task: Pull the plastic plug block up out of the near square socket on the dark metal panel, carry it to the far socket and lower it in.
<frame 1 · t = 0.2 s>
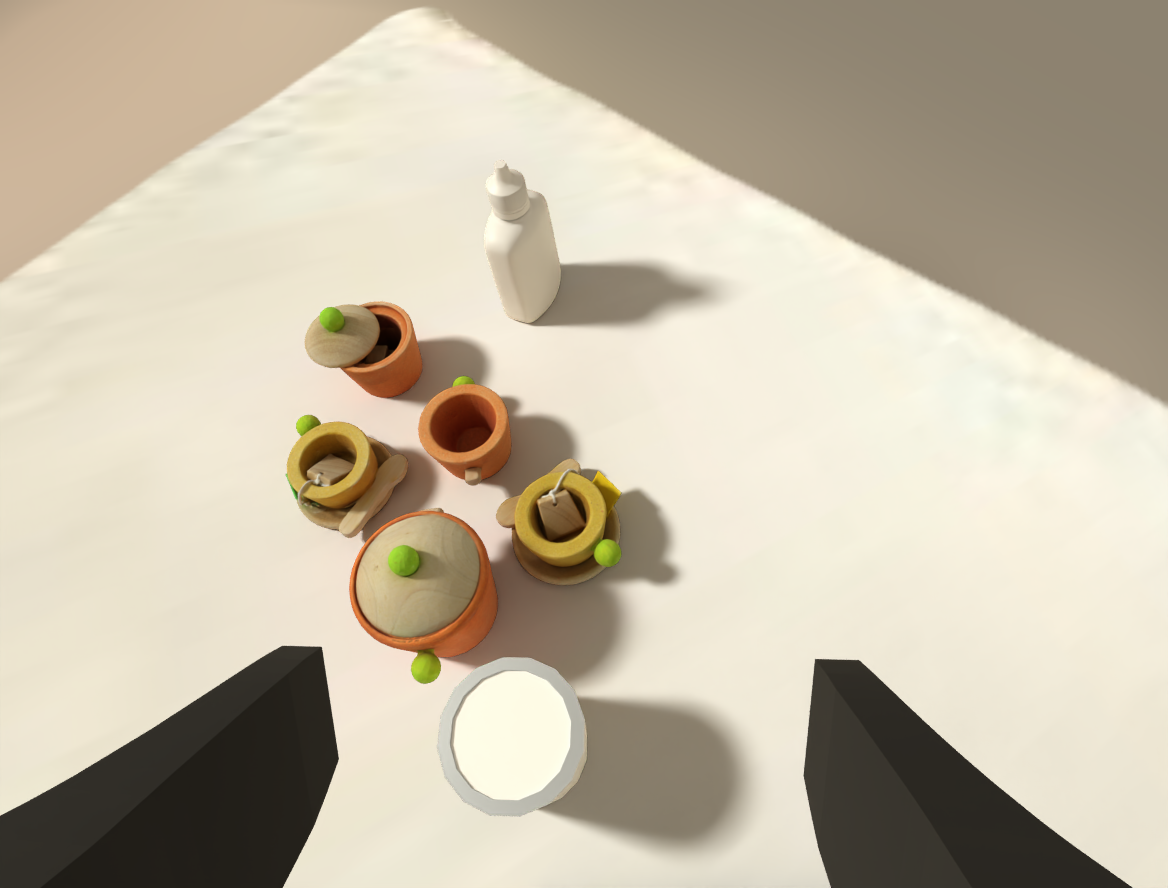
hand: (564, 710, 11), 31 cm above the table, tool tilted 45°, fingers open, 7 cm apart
toy tea set: (432, 489, 48), on the table
eye dropper bottle: (534, 296, 54), on the table
white cylinder: (536, 748, 40), on the table
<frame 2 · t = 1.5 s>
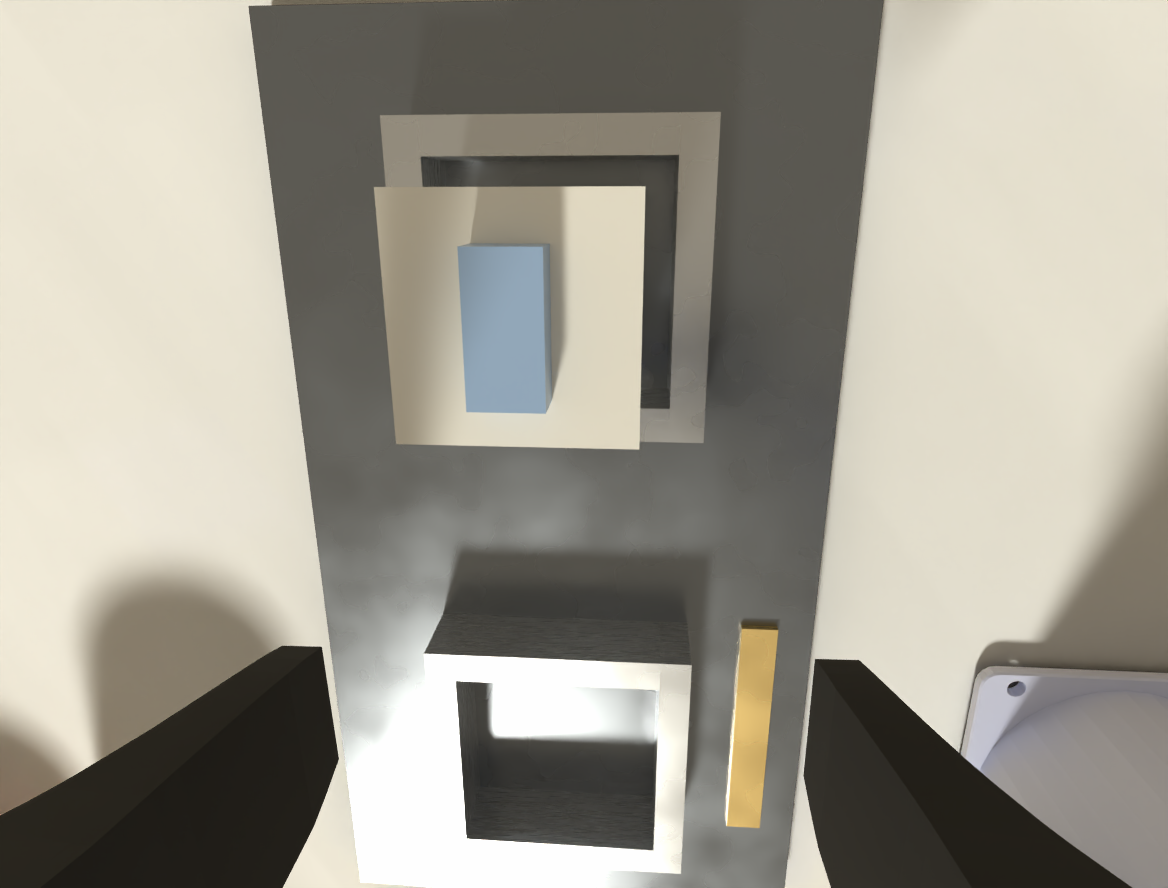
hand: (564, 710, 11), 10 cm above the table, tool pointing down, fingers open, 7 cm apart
plug: (559, 278, 18), point 1 cm above the table, touching panel
panel: (566, 523, 21), on the table
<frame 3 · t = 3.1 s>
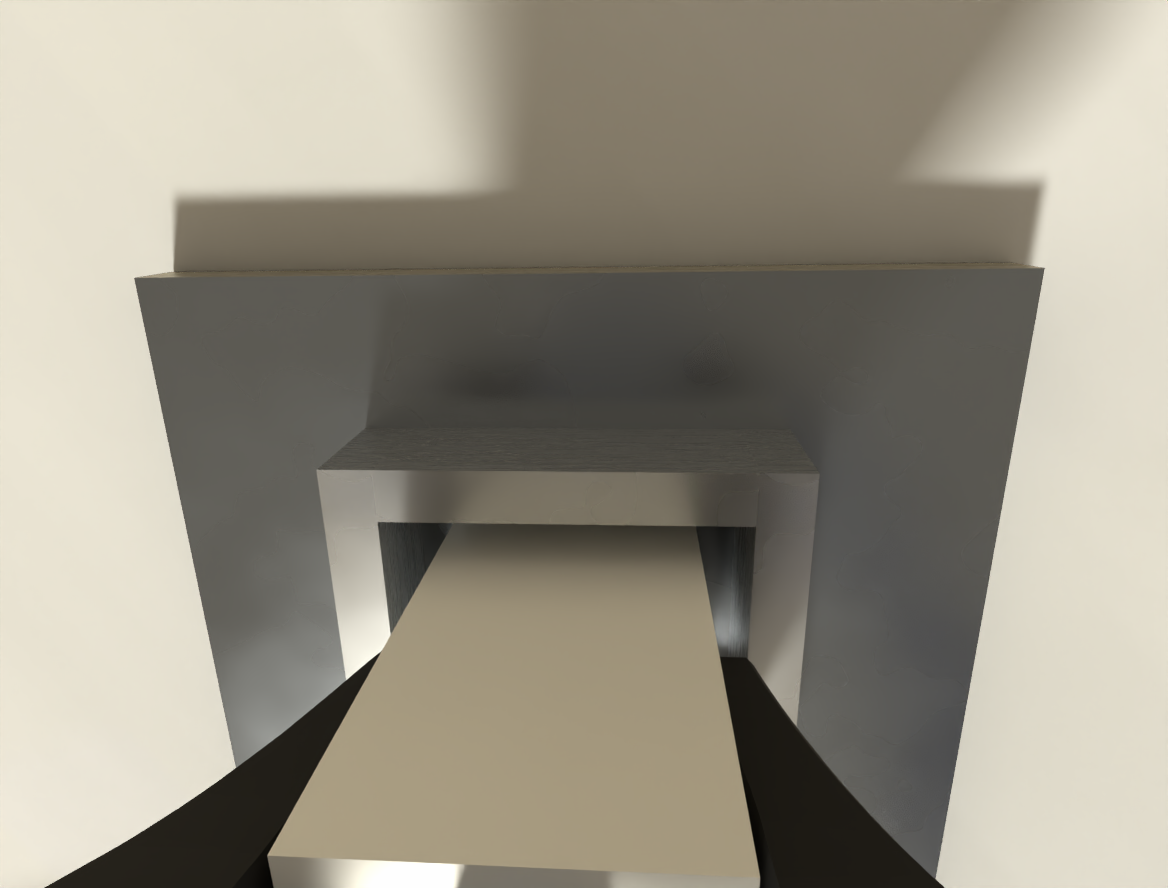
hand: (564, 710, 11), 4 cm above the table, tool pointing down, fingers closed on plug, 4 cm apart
plug: (577, 614, 13), point 1 cm above the table, touching gripper, panel
panel: (587, 864, 16), on the table
when the fingers open (5 cm above the table, at t = 6.5 s): plug stays where it is, resting on panel.
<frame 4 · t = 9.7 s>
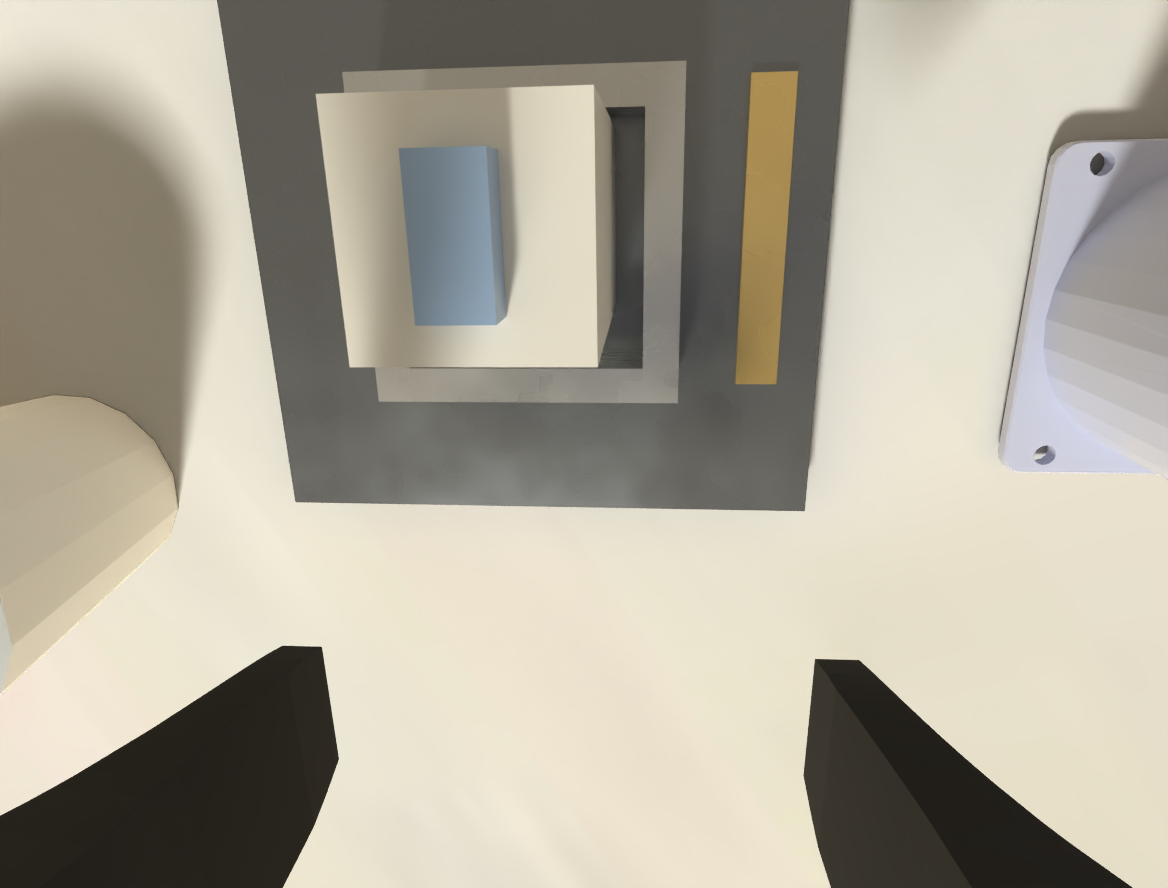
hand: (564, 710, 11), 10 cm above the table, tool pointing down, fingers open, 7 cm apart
plug: (532, 220, 18), point 1 cm above the table, touching panel
white cylinder: (92, 482, 22), on the table
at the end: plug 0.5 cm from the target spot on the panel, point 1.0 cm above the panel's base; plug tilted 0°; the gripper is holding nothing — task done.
